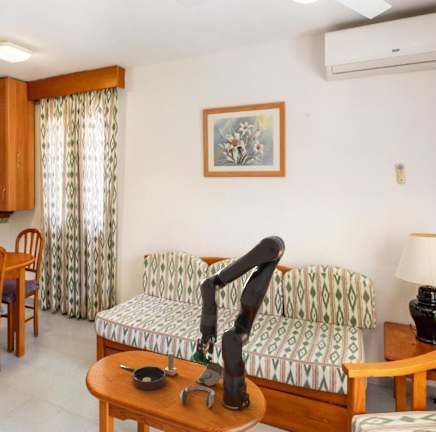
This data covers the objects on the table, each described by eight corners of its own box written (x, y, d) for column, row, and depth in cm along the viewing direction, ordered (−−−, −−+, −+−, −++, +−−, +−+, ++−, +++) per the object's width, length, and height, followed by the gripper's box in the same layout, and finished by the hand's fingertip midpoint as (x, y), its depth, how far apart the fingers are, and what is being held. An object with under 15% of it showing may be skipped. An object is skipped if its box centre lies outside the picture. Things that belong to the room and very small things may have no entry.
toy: (235, 376, 174) (202, 344, 178) (212, 402, 177) (179, 369, 181) (237, 371, 180) (205, 340, 184) (214, 395, 183) (183, 364, 187)
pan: (171, 380, 184) (171, 371, 183) (152, 395, 171) (152, 385, 170) (146, 371, 192) (146, 363, 191) (126, 385, 179) (126, 376, 179)
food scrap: (152, 380, 183) (152, 378, 183) (147, 384, 179) (147, 382, 179) (145, 378, 185) (145, 376, 185) (140, 381, 181) (140, 380, 181)
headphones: (210, 415, 155) (217, 396, 174) (211, 400, 155) (218, 383, 174) (168, 408, 159) (180, 390, 178) (169, 394, 159) (180, 378, 179)
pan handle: (138, 373, 186) (138, 369, 185) (135, 374, 184) (135, 371, 184) (121, 367, 191) (121, 364, 191) (118, 368, 190) (118, 365, 190)
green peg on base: (177, 374, 189) (177, 352, 189) (172, 377, 186) (172, 355, 185) (168, 371, 192) (168, 350, 191) (164, 375, 189) (164, 353, 188)
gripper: (208, 329, 160) (205, 366, 162) (223, 319, 172) (220, 353, 174) (193, 324, 164) (190, 360, 166) (209, 314, 176) (206, 348, 178)
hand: (206, 356), depth 170 cm, fingers open, 8 cm apart
